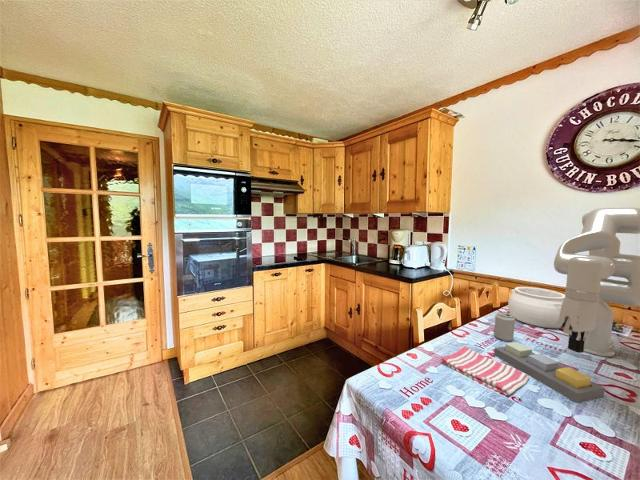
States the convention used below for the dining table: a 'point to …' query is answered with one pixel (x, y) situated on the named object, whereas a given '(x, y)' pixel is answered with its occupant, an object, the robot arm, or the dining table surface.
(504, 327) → the can
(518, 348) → the sage button
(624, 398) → the dining table surface
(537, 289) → the pot
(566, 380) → the mustard button
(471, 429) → the dining table surface
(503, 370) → the dish towel
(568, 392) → the button board
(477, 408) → the dining table surface
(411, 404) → the dining table surface
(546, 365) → the blue button
